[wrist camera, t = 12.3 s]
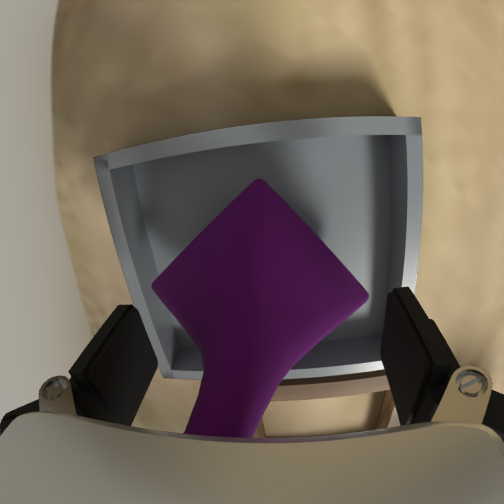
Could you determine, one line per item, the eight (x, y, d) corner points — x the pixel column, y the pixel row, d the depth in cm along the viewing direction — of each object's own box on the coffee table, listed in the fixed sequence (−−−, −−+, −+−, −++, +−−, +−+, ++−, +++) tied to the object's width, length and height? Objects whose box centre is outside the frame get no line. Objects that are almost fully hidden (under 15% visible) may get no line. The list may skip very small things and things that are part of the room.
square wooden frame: (385, 440, 24) (389, 459, 22) (252, 450, 26) (250, 470, 24) (415, 344, 19) (426, 368, 17) (228, 361, 21) (222, 386, 19)
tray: (388, 336, 19) (400, 366, 16) (176, 348, 21) (163, 377, 18) (397, 117, 13) (420, 117, 11) (122, 149, 15) (93, 157, 13)
